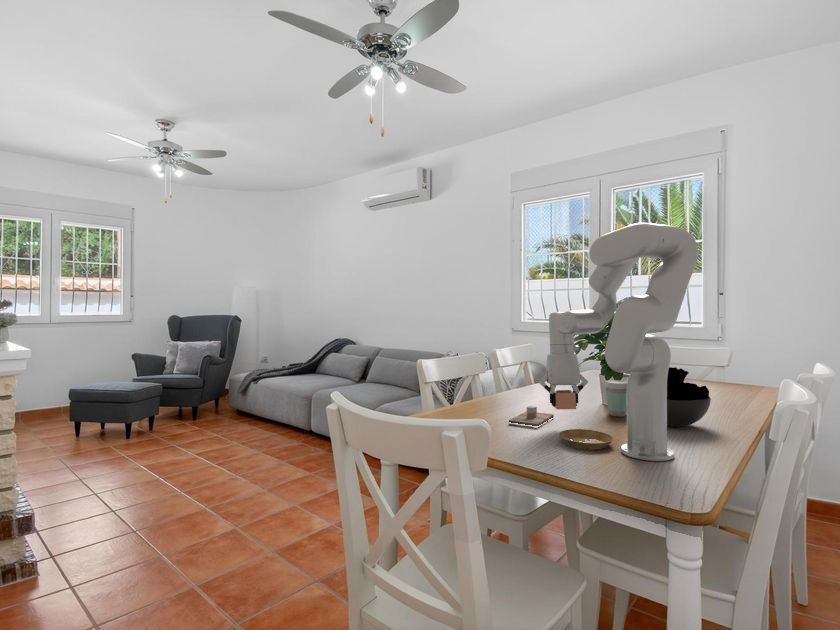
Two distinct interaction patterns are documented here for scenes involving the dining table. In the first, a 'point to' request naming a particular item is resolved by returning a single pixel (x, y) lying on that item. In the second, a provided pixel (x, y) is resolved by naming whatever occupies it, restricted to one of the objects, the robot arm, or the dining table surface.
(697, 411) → the coal bowl
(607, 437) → the plant saucer
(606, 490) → the dining table surface
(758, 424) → the dining table surface
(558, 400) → the salmon pink cube
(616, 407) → the coffee cup
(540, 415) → the base
